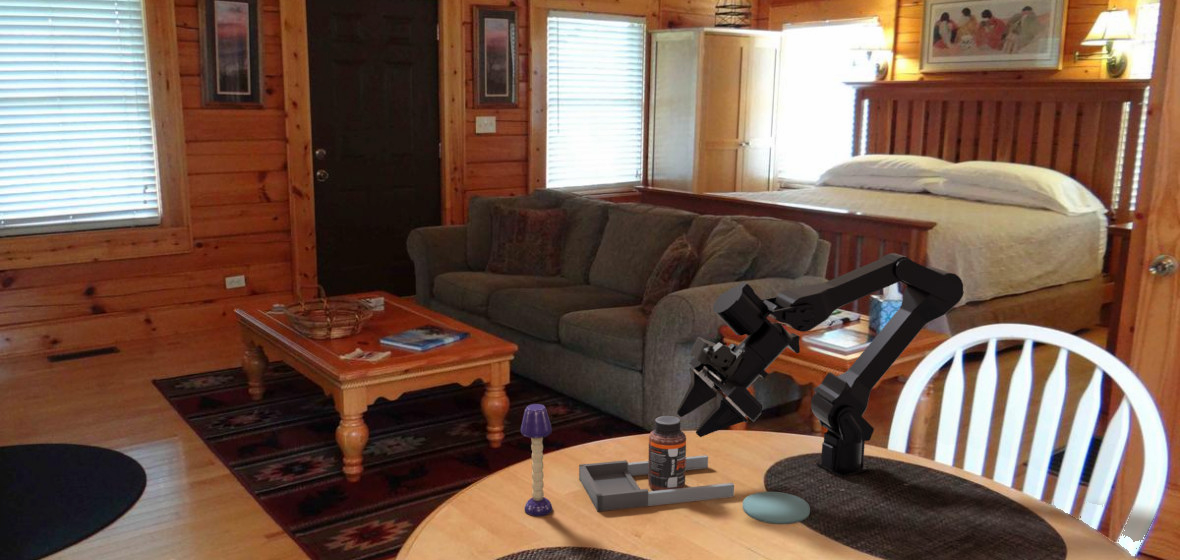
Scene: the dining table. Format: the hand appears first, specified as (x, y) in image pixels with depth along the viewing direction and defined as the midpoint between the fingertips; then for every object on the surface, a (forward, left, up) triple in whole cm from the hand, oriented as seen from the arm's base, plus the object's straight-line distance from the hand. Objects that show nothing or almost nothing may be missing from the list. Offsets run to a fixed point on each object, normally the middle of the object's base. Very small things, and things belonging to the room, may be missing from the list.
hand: (687, 424), depth 152 cm
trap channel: (+5, -1, -10) cm, 11 cm away
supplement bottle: (+3, -1, -10) cm, 11 cm away
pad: (-7, +14, -10) cm, 19 cm away
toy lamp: (+25, -3, -10) cm, 27 cm away
